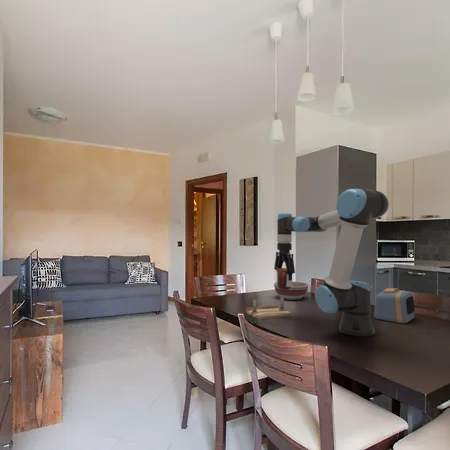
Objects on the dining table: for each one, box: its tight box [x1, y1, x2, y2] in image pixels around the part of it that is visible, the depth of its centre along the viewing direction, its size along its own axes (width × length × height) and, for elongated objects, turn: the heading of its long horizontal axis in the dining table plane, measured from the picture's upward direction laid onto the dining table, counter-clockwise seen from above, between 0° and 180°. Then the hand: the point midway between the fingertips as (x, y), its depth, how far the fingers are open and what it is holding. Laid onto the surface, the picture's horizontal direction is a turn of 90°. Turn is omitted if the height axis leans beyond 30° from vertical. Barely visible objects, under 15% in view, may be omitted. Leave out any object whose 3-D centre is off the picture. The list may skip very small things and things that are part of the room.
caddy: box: [245, 296, 293, 320], centre depth 190 cm, size 16×20×8 cm
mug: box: [276, 267, 291, 290], centre depth 182 cm, size 12×9×10 cm
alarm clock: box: [373, 287, 416, 324], centre depth 180 cm, size 16×16×16 cm
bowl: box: [273, 281, 309, 301], centre depth 235 cm, size 23×23×10 cm
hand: (284, 284), depth 182 cm, fingers closed on mug, 9 cm apart
